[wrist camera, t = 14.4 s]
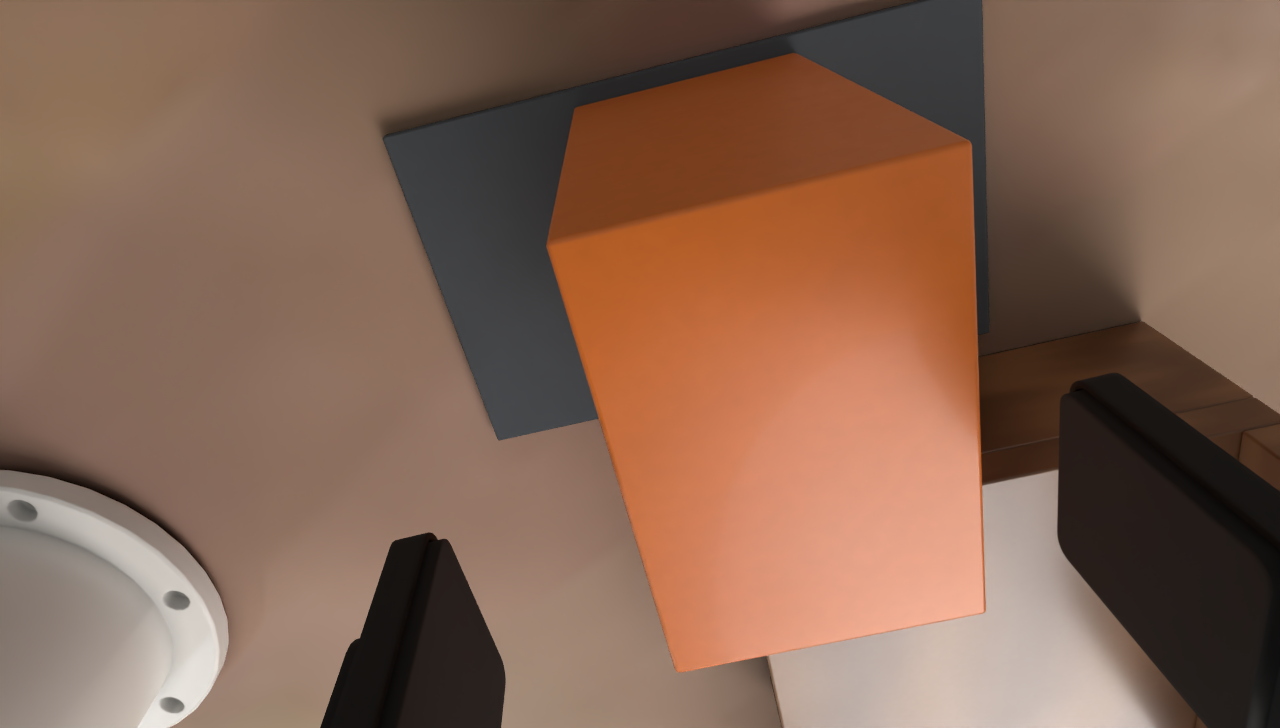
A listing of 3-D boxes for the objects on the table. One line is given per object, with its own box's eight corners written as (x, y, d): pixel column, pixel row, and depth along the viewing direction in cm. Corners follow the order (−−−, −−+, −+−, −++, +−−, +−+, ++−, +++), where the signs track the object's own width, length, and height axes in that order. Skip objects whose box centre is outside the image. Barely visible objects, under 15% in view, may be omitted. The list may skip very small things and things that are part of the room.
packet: (648, 392, 25) (675, 675, 15) (573, 107, 21) (544, 242, 11) (835, 351, 24) (988, 615, 15) (796, 51, 20) (974, 139, 10)
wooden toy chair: (774, 694, 32) (879, 1158, 20) (711, 414, 26) (811, 841, 13) (1118, 628, 31) (1456, 1073, 19) (1143, 320, 25) (1685, 686, 12)
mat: (499, 434, 26) (497, 441, 25) (385, 134, 21) (381, 137, 21) (984, 327, 25) (990, 332, 24) (976, -15, 20) (982, -14, 20)
